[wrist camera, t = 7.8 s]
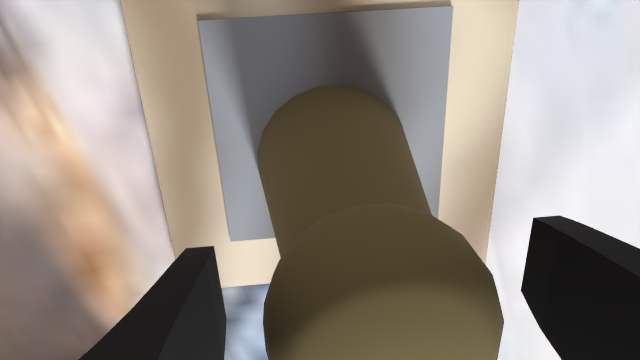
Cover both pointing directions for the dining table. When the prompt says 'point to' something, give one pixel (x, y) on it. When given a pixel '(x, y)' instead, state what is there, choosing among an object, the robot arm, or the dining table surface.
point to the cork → (364, 243)
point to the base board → (302, 75)
